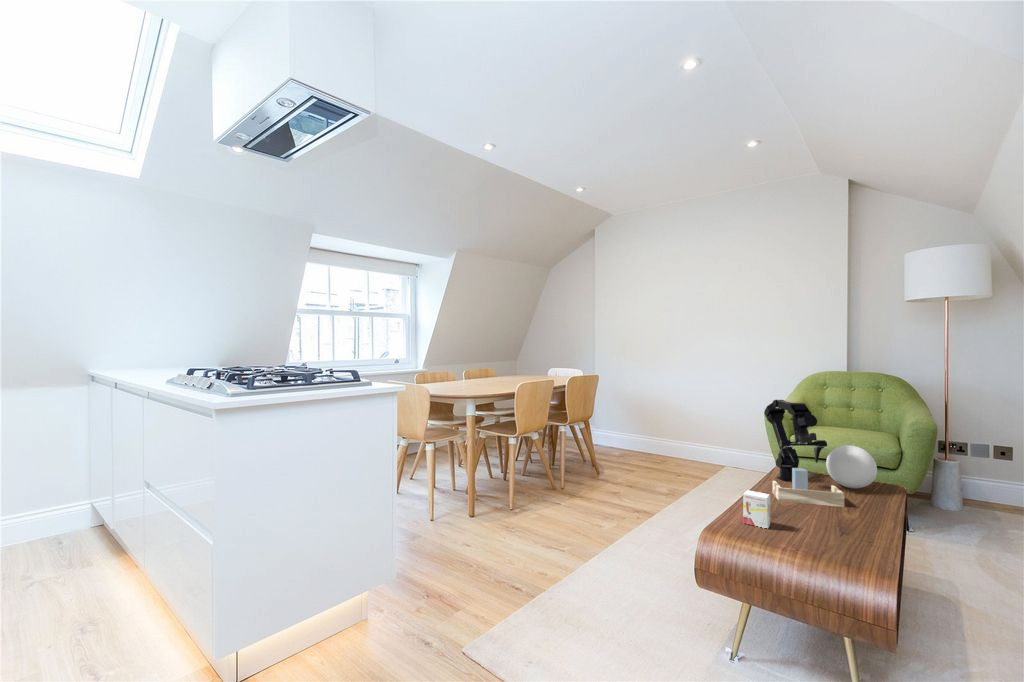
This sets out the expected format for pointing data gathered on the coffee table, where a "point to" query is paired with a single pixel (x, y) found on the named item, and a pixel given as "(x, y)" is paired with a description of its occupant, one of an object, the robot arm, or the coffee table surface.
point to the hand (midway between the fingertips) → (805, 462)
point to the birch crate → (809, 496)
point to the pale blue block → (799, 478)
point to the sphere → (851, 466)
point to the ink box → (756, 509)
